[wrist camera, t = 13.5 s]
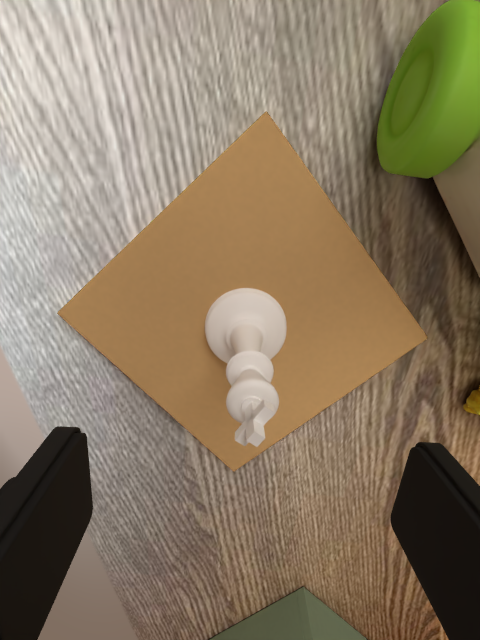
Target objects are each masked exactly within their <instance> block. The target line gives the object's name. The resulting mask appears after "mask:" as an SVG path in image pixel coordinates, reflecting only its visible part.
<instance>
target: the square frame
mask: <svg viewBox="0 0 480 640" xmlns="http://www.w3.org/2000/svg"><path fill="white" fill-rule="evenodd" d="M209 640H367V639H366V638H365V637H364V636H363V635H361V634H360V633H359V632H358V631H356V630H355V629H354V628H353V627H352V626H350V625H349V624H348V623H347V622H346V621H344V620H343V619H342V618H341V617H339V616H338V615H337V614H336V613H335V612H333V611H332V610H331V609H330V608H329V607H327V606H326V605H325V604H324V603H323V602H321V601H320V600H319V599H318V598H316V597H315V596H314V595H313V594H312V593H310V592H309V591H308V590H307V589H306V588H304V587H302V588H300V589H298V590H297V591H295V592H293V593H291V594H290V595H288V596H286V597H284V598H282V599H281V600H279V601H277V602H275V603H274V604H272V605H270V606H268V607H266V608H265V609H263V610H261V611H259V612H257V613H256V614H254V615H252V616H250V617H248V618H247V619H245V620H243V621H241V622H239V623H238V624H236V625H234V626H232V627H231V628H229V629H227V630H225V631H223V632H222V633H220V634H218V635H216V636H214V637H213V638H211V639H209Z"/></svg>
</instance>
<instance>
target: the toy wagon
mask: <svg viewBox="0 0 480 640" xmlns="http://www.w3.org/2000/svg"><path fill="white" fill-rule="evenodd" d="M377 152H378V157H379V161H380V164H381V167H382V168H383V169H384V170H385V171H387V172H388V173H392V174H398V175H405V176H411V177H419V178H430V177H433V178H434V181H435V183H436V185H437V188H438V190H439V192H440V194H441V196H442V198H443V200H444V202H445V205H446V207H447V209H448V211H449V213H450V215H451V217H452V219H453V221H454V224H455V226H456V228H457V230H458V232H459V234H460V236H461V238H462V240H463V243H464V245H465V247H466V249H467V251H468V253H469V256H470V258H471V260H472V262H473V264H474V267H475V269H476V271H477V273H478V275H479V277H480V0H449V1H448V2H446V3H444V4H443V5H441V6H440V7H439V8H437V9H436V10H435V11H434V12H433V13H432V14H431V15H430V16H429V17H428V18H427V20H426V21H425V22H424V23H423V24H422V25H421V27H420V28H419V29H418V31H417V32H416V34H415V35H414V37H413V38H412V40H411V41H410V43H409V45H408V46H407V48H406V49H405V51H404V53H403V55H402V57H401V59H400V61H399V63H398V66H397V68H396V70H395V72H394V74H393V77H392V79H391V81H390V84H389V87H388V90H387V92H386V96H385V99H384V102H383V106H382V109H381V114H380V118H379V122H378V130H377ZM463 409H464V410H466V411H467V412H469V413H473V414H478V415H479V416H480V385H479V389H477V390H473V391H472V392H471V395H470V396H469V397H468V398H467V401H466V404H464V405H463Z"/></svg>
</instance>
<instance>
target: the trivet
mask: <svg viewBox="0 0 480 640" xmlns="http://www.w3.org/2000/svg"><path fill="white" fill-rule="evenodd" d="M240 288H253V289H257V290H261V291H263V292H265V293H267V294H269V295H270V296H272V297H273V298H274V299H275V300H276V301H277V302H278V303H279V304H280V306H281V307H282V309H283V311H284V314H285V317H286V326H287V331H286V338H285V341H284V344H283V346H282V348H281V349H280V351H279V352H278V353H277V354H276V355H275V356H274V357H273V358H272V359H271V362H272V364H273V368H274V374H273V378H272V380H271V384H272V385H273V387H274V388H275V390H276V391H277V394H278V397H279V406H278V409H277V412H276V413H275V415H274V416H273V417H272V418H271V419H270V420H268V421H267V423H266V424H265V425H264V432H265V439H264V440H263V441H262V442H261V443H260V445H259V446H258V447H256V446H254V445H253V444H251V443H248V444H247V445H246V446H243V445H242V444H240V443H238V442H237V441H235V431H236V430H237V429H238V428H239V427H240V426H241V424H242V423H240V422H238V421H236V420H235V419H234V418H232V416H231V415H230V414H229V412H228V410H227V406H226V398H227V394H228V392H229V390H230V388H231V387H232V386H231V385H230V383H229V382H228V380H227V377H226V367H227V363H225V362H224V361H222V360H221V359H219V358H218V357H217V356H216V355H215V354H214V353H213V351H212V350H211V348H210V347H209V345H208V342H207V339H206V334H205V320H206V316H207V313H208V311H209V309H210V307H211V306H212V304H213V303H214V302H215V301H216V300H217V299H218V298H219V297H220V296H222V295H223V294H225V293H227V292H229V291H232V290H235V289H240ZM57 314H58V315H59V316H61V317H62V318H63V319H64V320H65V321H66V322H67V323H68V324H70V325H71V326H72V327H73V328H74V329H75V330H76V331H77V332H78V333H80V334H81V335H82V336H83V337H84V338H85V339H86V340H87V341H88V342H90V343H91V344H92V345H93V346H94V347H95V348H96V349H97V350H99V351H100V352H101V353H102V354H103V355H104V356H105V357H106V358H107V359H109V360H110V361H111V362H112V363H113V364H114V365H115V366H116V367H117V368H119V369H120V370H121V371H122V372H123V373H124V374H125V375H126V376H128V377H129V378H130V379H131V380H132V381H133V382H134V383H135V384H136V385H138V386H139V387H140V388H141V389H142V390H143V391H144V392H145V393H146V394H148V395H149V396H150V397H151V398H152V399H153V400H154V401H155V402H157V403H158V404H159V405H160V406H161V407H162V408H163V409H164V410H165V411H167V412H168V413H169V414H170V415H171V416H172V417H173V418H174V419H175V420H177V421H178V422H179V423H180V424H181V425H182V426H183V427H184V428H186V429H187V430H188V431H189V432H190V433H191V434H192V435H193V436H194V437H196V438H197V439H198V440H199V441H200V442H201V443H202V444H203V445H204V446H206V447H207V448H208V449H209V450H210V451H211V452H212V453H213V454H215V455H216V456H217V457H218V458H219V459H220V460H221V461H222V462H223V463H225V464H226V465H227V466H228V467H229V468H230V469H231V470H232V471H236V470H237V469H238V468H240V467H241V466H243V465H244V464H246V463H247V462H249V461H250V460H252V459H253V458H254V457H256V456H257V455H259V454H260V453H262V452H263V451H265V450H266V449H268V448H269V447H270V446H272V445H273V444H275V443H276V442H278V441H279V440H281V439H282V438H284V437H285V436H286V435H288V434H289V433H291V432H292V431H294V430H295V429H297V428H298V427H300V426H301V425H302V424H304V423H305V422H307V421H308V420H310V419H311V418H313V417H314V416H316V415H317V414H318V413H320V412H321V411H323V410H324V409H326V408H327V407H329V406H330V405H332V404H333V403H334V402H336V401H337V400H339V399H340V398H342V397H343V396H345V395H346V394H348V393H349V392H350V391H352V390H353V389H355V388H356V387H358V386H359V385H361V384H362V383H364V382H365V381H366V380H368V379H369V378H371V377H372V376H374V375H375V374H377V373H378V372H380V371H381V370H382V369H384V368H385V367H387V366H388V365H390V364H391V363H393V362H394V361H396V360H397V359H398V358H400V357H401V356H403V355H404V354H406V353H407V352H409V351H410V350H412V349H413V348H414V347H416V346H417V345H419V344H420V343H422V342H423V341H425V340H426V339H428V337H427V335H426V334H425V332H424V331H423V330H422V328H421V327H420V325H419V324H418V323H417V321H416V320H415V318H414V317H413V316H412V314H411V313H410V311H409V310H408V309H407V307H406V306H405V304H404V303H403V302H402V300H401V299H400V297H399V296H398V295H397V293H396V292H395V290H394V289H393V288H392V286H391V285H390V283H389V282H388V281H387V279H386V278H385V276H384V275H383V274H382V272H381V271H380V269H379V268H378V267H377V265H376V264H375V262H374V261H373V260H372V258H371V257H370V255H369V254H368V253H367V251H366V250H365V248H364V247H363V246H362V244H361V243H360V241H359V240H358V239H357V237H356V236H355V234H354V233H353V232H352V230H351V229H350V227H349V226H348V225H347V223H346V222H345V220H344V219H343V218H342V216H341V215H340V213H339V212H338V211H337V209H336V208H335V206H334V205H333V204H332V202H331V201H330V199H329V198H328V197H327V195H326V194H325V192H324V191H323V190H322V188H321V187H320V185H319V184H318V183H317V181H316V180H315V178H314V177H313V176H312V174H311V173H310V171H309V170H308V169H307V167H306V166H305V164H304V163H303V162H302V160H301V159H300V157H299V156H298V155H297V153H296V152H295V150H294V149H293V148H292V146H291V145H290V143H289V142H288V141H287V139H286V138H285V136H284V135H283V134H282V132H281V131H280V129H279V128H278V127H277V125H276V124H275V122H274V121H273V120H272V118H271V117H270V115H269V114H268V112H265V113H264V114H263V115H262V116H261V117H260V118H259V119H258V120H256V121H255V122H254V123H253V124H252V125H251V126H250V127H249V128H248V129H247V130H246V131H245V132H244V133H243V134H242V135H241V136H240V137H239V138H238V139H237V140H236V141H235V142H234V143H233V144H232V145H231V146H230V147H228V148H227V149H226V150H225V151H224V152H223V153H222V154H221V155H220V156H219V157H218V158H217V159H216V160H215V161H214V162H213V163H212V164H211V165H210V166H209V167H208V168H207V169H206V170H205V171H204V172H203V173H202V174H200V175H199V176H198V177H197V178H196V179H195V180H194V181H193V182H192V183H191V184H190V185H189V186H188V187H187V188H186V189H185V190H184V191H183V192H182V193H181V194H180V195H179V196H178V197H177V198H176V199H175V200H174V201H172V202H171V203H170V204H169V205H168V206H167V207H166V208H165V209H164V210H163V211H162V212H161V213H160V214H159V215H158V216H157V217H156V218H155V219H154V220H153V221H152V222H151V223H150V224H149V225H148V226H147V227H146V228H144V229H143V230H142V231H141V232H140V233H139V234H138V235H137V236H136V237H135V238H134V239H133V240H132V241H131V242H130V243H129V244H128V245H127V246H126V247H125V248H124V249H123V250H122V251H121V252H120V253H119V254H118V255H117V256H115V257H114V258H113V259H112V260H111V261H110V262H109V263H108V264H107V265H106V266H105V267H104V268H103V269H102V270H101V271H100V272H99V273H98V274H97V275H96V276H95V277H94V278H93V279H92V280H91V281H90V282H89V283H87V284H86V285H85V286H84V287H83V288H82V289H81V290H80V291H79V292H78V293H77V294H76V295H75V296H74V297H73V298H72V299H71V300H70V301H69V302H68V303H67V304H66V305H65V306H64V307H63V308H62V309H61V310H59V311H58V313H57Z"/></svg>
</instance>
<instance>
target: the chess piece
mask: <svg viewBox="0 0 480 640" xmlns="http://www.w3.org/2000/svg"><path fill="white" fill-rule="evenodd" d="M286 331H287V326H286V317H285V314H284V311H283V309H282V307H281V306H280V304H279V303H278V302H277V301H276V300H275V299H274V298H273V297H272V296H270V295H269V294H267V293H265V292H263V291H261V290H257V289H253V288H240V289H235V290H232V291H229V292H227V293H225V294H223V295H222V296H220V297H219V298H218V299H217V300H216V301H215V302H214V303H213V304H212V306H211V307H210V309H209V311H208V313H207V316H206V320H205V334H206V339H207V342H208V345H209V347H210V348H211V350H212V351H213V353H214V354H215V355H216V356H217V357H218V358H219V359H221V360H222V361H224V362H225V363H227V367H226V377H227V380H228V382H229V383H230V385H231V386H232V387H231V388H230V390H229V392H228V394H227V398H226V406H227V410H228V412H229V414H230V415H231V416H232V418H234V419H235V420H236V421H238V422H240V423H242V424H241V426H240V427H239V428H238V429H237V430H236V431H235V441H237V442H238V443H240V444H242V445H243V446H246V445H247V444H248V443H251V444H253V445H254V446H256V447H258V446H259V445H260V443H261V442H262V441H263V440H264V439H265V432H264V425H265V424H266V423H267V421H268V420H270V419H271V418H272V417H273V416H274V415H275V413H276V412H277V409H278V406H279V397H278V394H277V391H276V390H275V388H274V387H273V385H272V384H271V380H272V378H273V374H274V368H273V364H272V362H271V359H272V358H273V357H274V356H275V355H276V354H277V353H278V352H279V351H280V349H281V348H282V346H283V344H284V341H285V338H286Z"/></svg>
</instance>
